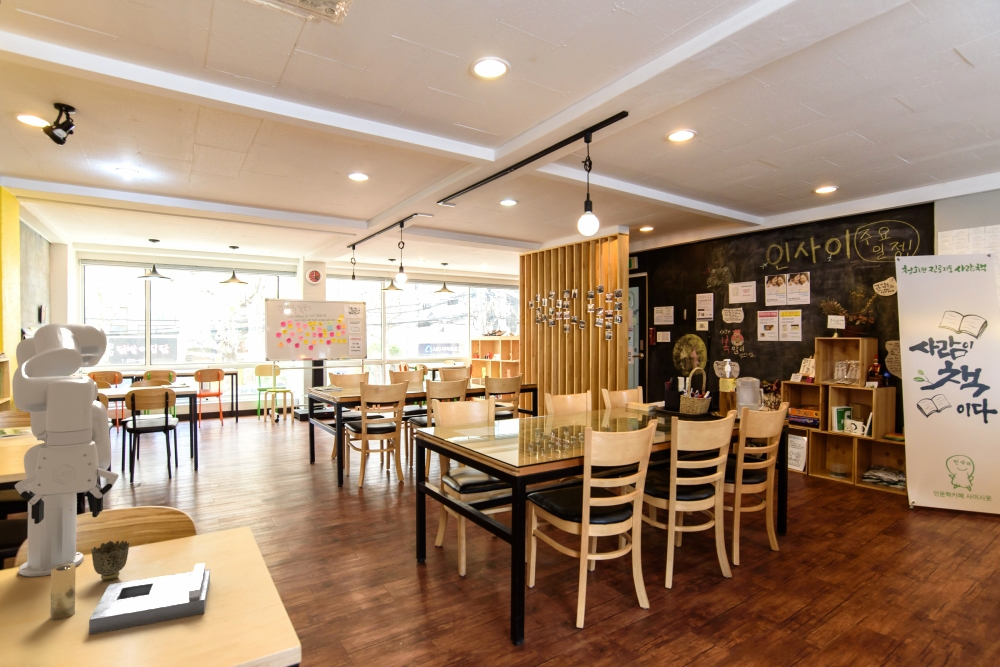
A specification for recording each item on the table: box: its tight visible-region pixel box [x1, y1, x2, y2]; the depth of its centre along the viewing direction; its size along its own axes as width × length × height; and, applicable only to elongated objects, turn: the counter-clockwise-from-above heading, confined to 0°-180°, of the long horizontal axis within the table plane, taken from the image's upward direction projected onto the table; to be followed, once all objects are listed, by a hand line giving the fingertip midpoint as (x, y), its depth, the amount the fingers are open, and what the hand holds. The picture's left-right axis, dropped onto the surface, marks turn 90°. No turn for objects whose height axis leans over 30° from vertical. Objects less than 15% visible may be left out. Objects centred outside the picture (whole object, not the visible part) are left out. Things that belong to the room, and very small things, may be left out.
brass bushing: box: [49, 564, 77, 621], centre depth 112 cm, size 4×4×10 cm
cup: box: [91, 540, 130, 582], centre depth 129 cm, size 8×7×8 cm
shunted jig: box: [88, 562, 211, 636], centre depth 116 cm, size 16×20×5 cm
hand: (68, 518), depth 112 cm, fingers open, 9 cm apart
